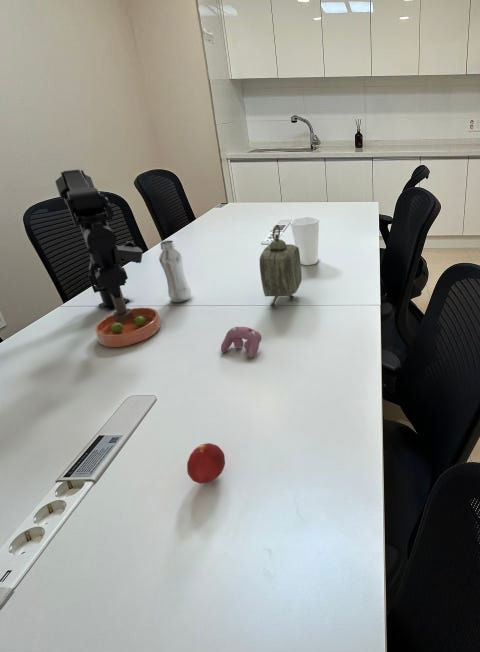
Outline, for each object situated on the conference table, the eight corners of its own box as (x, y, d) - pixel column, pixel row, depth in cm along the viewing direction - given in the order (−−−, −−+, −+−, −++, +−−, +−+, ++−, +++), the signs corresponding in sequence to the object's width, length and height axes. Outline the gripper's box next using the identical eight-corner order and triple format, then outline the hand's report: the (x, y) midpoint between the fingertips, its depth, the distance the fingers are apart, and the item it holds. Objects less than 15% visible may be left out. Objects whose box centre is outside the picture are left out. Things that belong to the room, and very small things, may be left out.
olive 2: (133, 327, 111) (130, 318, 110) (142, 322, 113) (140, 313, 112) (139, 329, 110) (137, 320, 108) (149, 324, 112) (146, 315, 111)
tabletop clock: (277, 290, 132) (268, 219, 122) (304, 289, 132) (296, 218, 122) (266, 311, 119) (254, 233, 109) (295, 310, 118) (286, 233, 108)
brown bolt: (111, 320, 106) (95, 274, 100) (127, 313, 110) (112, 267, 104) (121, 324, 104) (106, 277, 99) (137, 316, 108) (122, 270, 102)
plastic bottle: (184, 305, 124) (169, 246, 116) (165, 303, 125) (149, 245, 117) (196, 296, 129) (183, 239, 121) (178, 294, 131) (164, 238, 123)
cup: (327, 260, 156) (324, 219, 149) (311, 269, 148) (306, 226, 141) (306, 255, 161) (302, 215, 154) (289, 263, 154) (284, 222, 147)
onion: (198, 465, 68) (189, 431, 65) (232, 462, 69) (224, 429, 66) (187, 496, 63) (176, 461, 60) (223, 492, 63) (214, 457, 60)
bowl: (87, 340, 106) (82, 328, 104) (139, 315, 119) (135, 303, 117) (122, 354, 100) (117, 341, 98) (172, 325, 112) (169, 313, 111)
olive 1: (109, 334, 108) (106, 325, 107) (120, 328, 110) (117, 319, 109) (116, 336, 106) (113, 327, 105) (126, 331, 109) (123, 322, 108)
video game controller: (261, 356, 100) (265, 329, 100) (251, 359, 96) (254, 331, 96) (230, 349, 103) (233, 323, 103) (218, 352, 99) (222, 324, 99)
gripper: (141, 243, 96) (157, 299, 102) (129, 226, 109) (144, 276, 115) (88, 254, 89) (108, 313, 96) (82, 235, 103) (100, 287, 109)
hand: (117, 296), depth 104 cm, fingers closed on brown bolt, 2 cm apart
